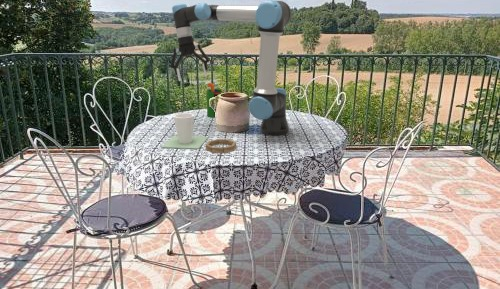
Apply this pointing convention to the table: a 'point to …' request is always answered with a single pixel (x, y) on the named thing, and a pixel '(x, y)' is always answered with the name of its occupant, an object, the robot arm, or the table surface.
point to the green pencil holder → (210, 94)
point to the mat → (195, 144)
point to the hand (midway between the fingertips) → (193, 78)
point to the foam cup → (184, 127)
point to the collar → (220, 149)
